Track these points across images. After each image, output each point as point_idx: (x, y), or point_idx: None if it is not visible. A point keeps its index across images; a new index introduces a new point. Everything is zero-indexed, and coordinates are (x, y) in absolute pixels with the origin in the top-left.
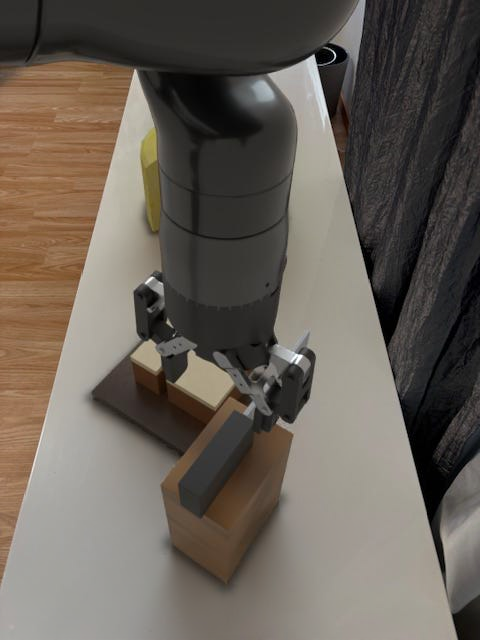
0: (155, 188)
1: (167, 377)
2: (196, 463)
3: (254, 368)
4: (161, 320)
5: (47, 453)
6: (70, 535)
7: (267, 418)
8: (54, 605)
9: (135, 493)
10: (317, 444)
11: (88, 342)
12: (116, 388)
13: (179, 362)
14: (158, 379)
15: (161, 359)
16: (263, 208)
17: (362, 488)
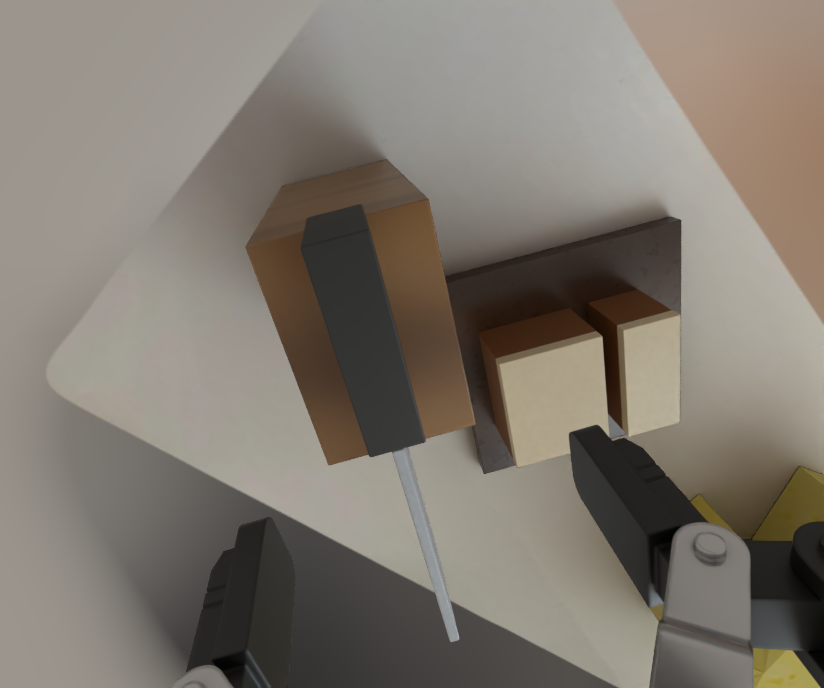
0: None
1: (600, 438)
2: (379, 298)
3: (505, 444)
4: (816, 646)
5: (657, 91)
6: (517, 31)
7: (215, 625)
8: None
9: (492, 167)
10: None
11: (747, 271)
12: (651, 256)
13: (609, 514)
14: (609, 322)
15: (668, 481)
16: None
17: (264, 429)
